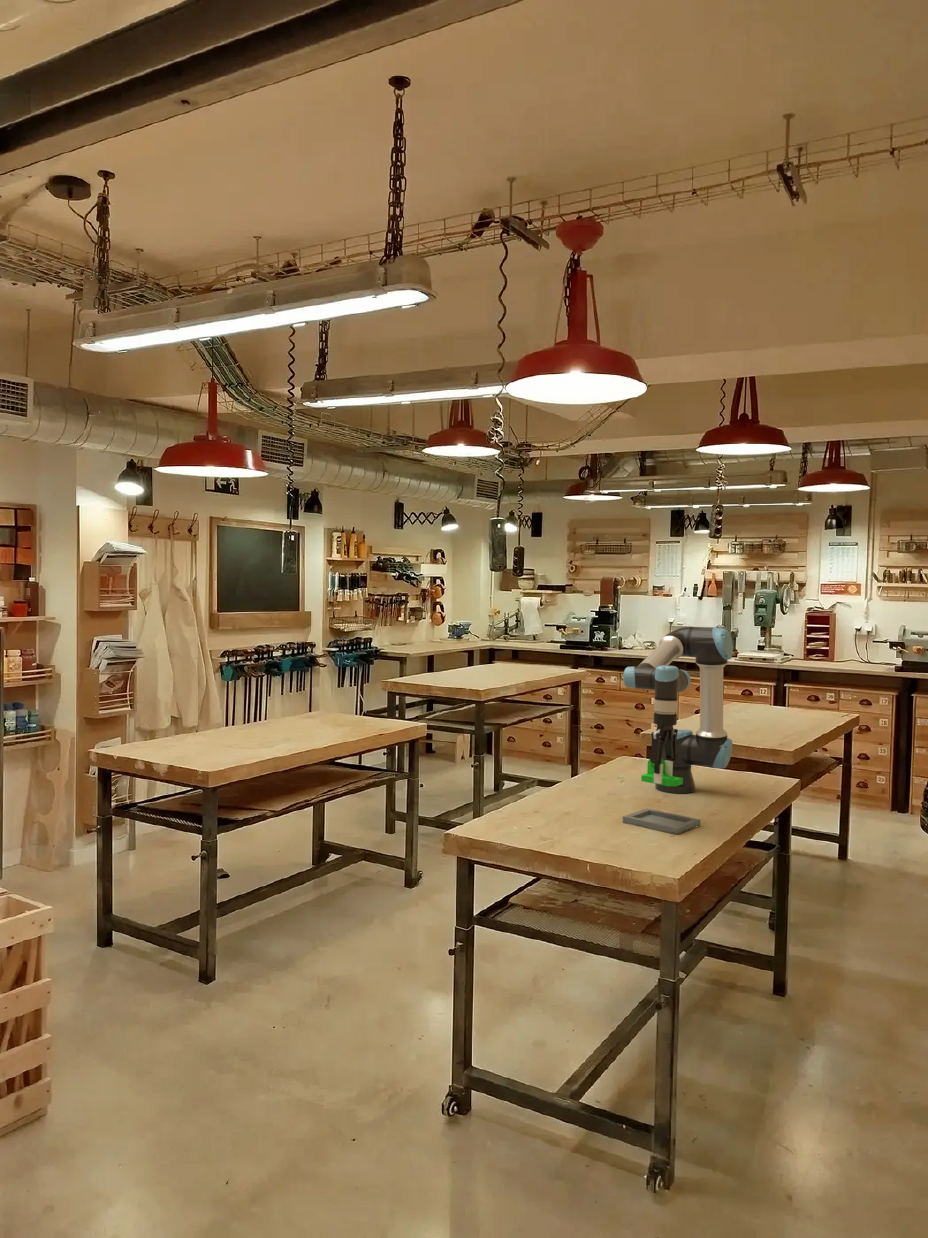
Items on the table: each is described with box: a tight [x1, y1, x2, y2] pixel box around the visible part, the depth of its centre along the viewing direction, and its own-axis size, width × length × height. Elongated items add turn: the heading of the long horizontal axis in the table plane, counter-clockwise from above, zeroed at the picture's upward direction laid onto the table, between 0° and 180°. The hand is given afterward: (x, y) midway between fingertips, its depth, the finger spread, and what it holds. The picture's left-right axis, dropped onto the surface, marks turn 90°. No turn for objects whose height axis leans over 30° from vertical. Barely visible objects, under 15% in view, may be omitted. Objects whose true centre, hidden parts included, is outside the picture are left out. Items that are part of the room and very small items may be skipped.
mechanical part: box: [640, 758, 683, 786], centre depth 291 cm, size 12×6×8 cm, turn 50°
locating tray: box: [622, 807, 702, 836], centre depth 292 cm, size 16×20×2 cm
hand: (662, 781), depth 291 cm, fingers closed on mechanical part, 6 cm apart
